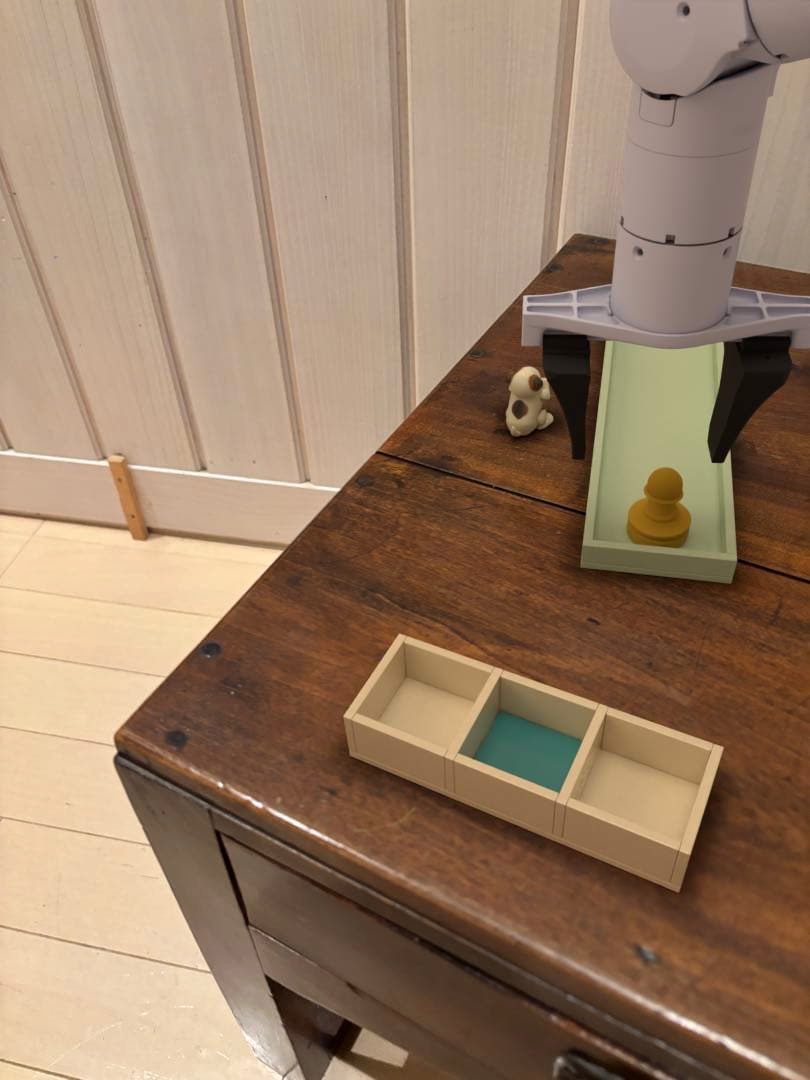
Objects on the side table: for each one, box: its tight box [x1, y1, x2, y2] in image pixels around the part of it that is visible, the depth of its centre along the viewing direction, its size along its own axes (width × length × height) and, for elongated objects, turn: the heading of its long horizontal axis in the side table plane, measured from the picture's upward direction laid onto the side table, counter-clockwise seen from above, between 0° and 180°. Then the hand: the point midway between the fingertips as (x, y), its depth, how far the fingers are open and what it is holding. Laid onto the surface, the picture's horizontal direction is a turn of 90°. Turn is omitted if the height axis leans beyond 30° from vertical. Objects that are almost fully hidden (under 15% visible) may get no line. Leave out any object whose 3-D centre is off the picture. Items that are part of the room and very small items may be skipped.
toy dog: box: [504, 365, 554, 437], centre depth 69 cm, size 4×5×5 cm
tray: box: [579, 341, 738, 585], centre depth 69 cm, size 34×9×2 cm, turn 168°
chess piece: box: [626, 467, 691, 548], centre depth 58 cm, size 4×4×5 cm
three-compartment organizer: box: [342, 633, 725, 893], centre depth 47 cm, size 18×6×4 cm, turn 63°
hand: (646, 451), depth 53 cm, fingers open, 7 cm apart
